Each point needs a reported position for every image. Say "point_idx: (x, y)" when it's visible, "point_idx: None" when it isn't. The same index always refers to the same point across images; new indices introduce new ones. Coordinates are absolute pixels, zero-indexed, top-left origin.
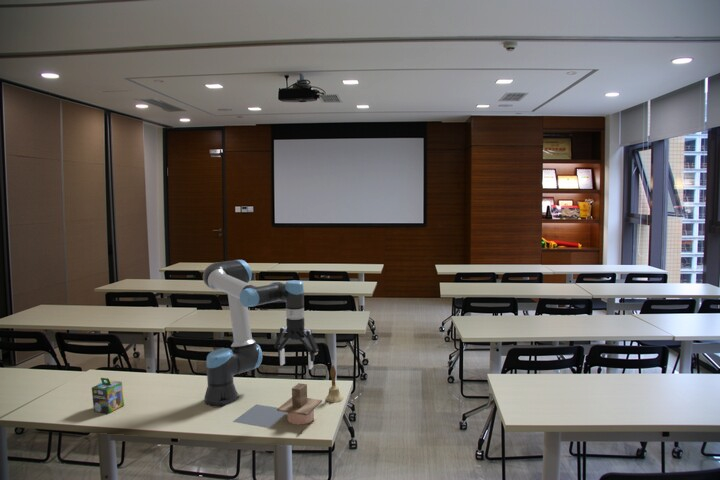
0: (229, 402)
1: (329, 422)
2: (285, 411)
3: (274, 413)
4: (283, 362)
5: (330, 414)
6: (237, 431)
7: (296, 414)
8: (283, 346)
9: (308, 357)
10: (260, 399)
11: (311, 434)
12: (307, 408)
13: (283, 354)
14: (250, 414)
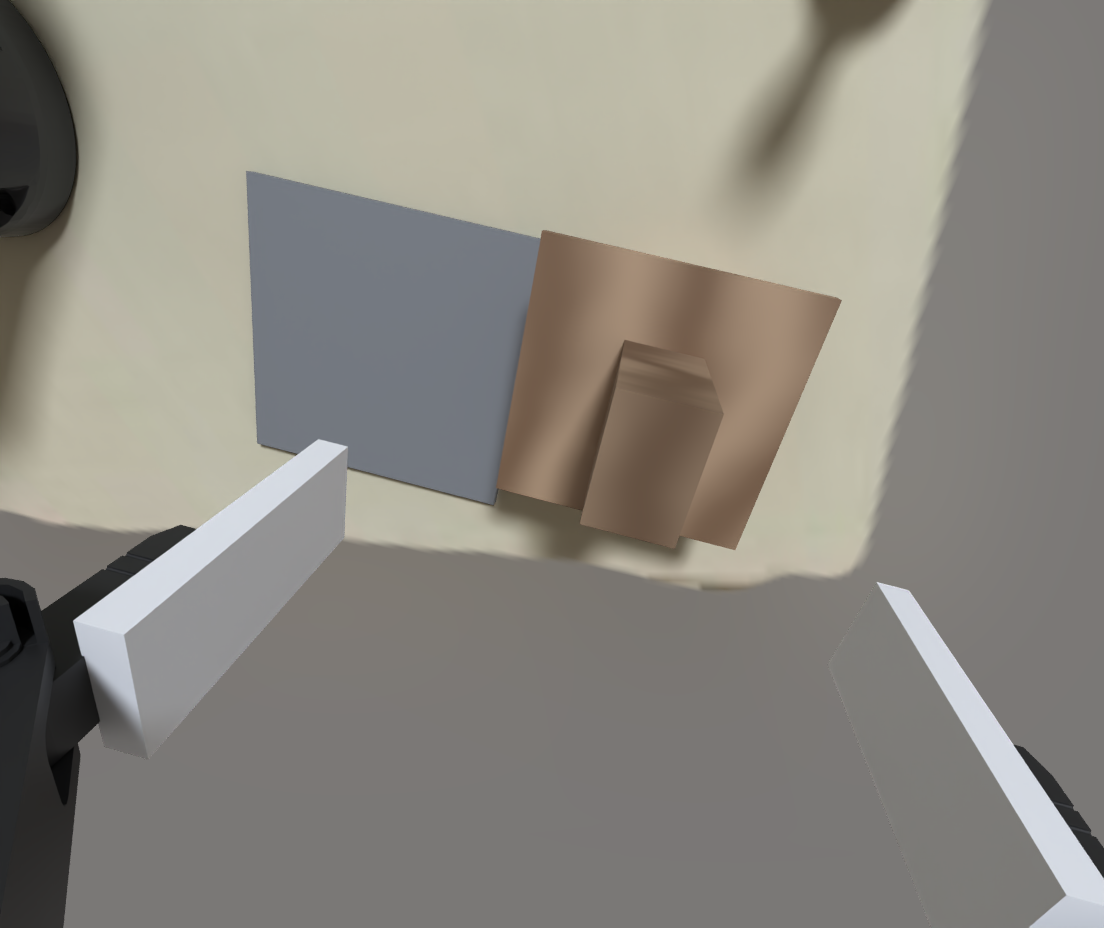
0: (58, 185)
1: (865, 396)
2: (563, 501)
3: (445, 315)
4: (328, 504)
5: (873, 264)
6: None
7: None
8: (47, 773)
9: (917, 885)
10: (217, 32)
11: (753, 545)
12: (724, 471)
13: (230, 590)
14: (301, 345)
